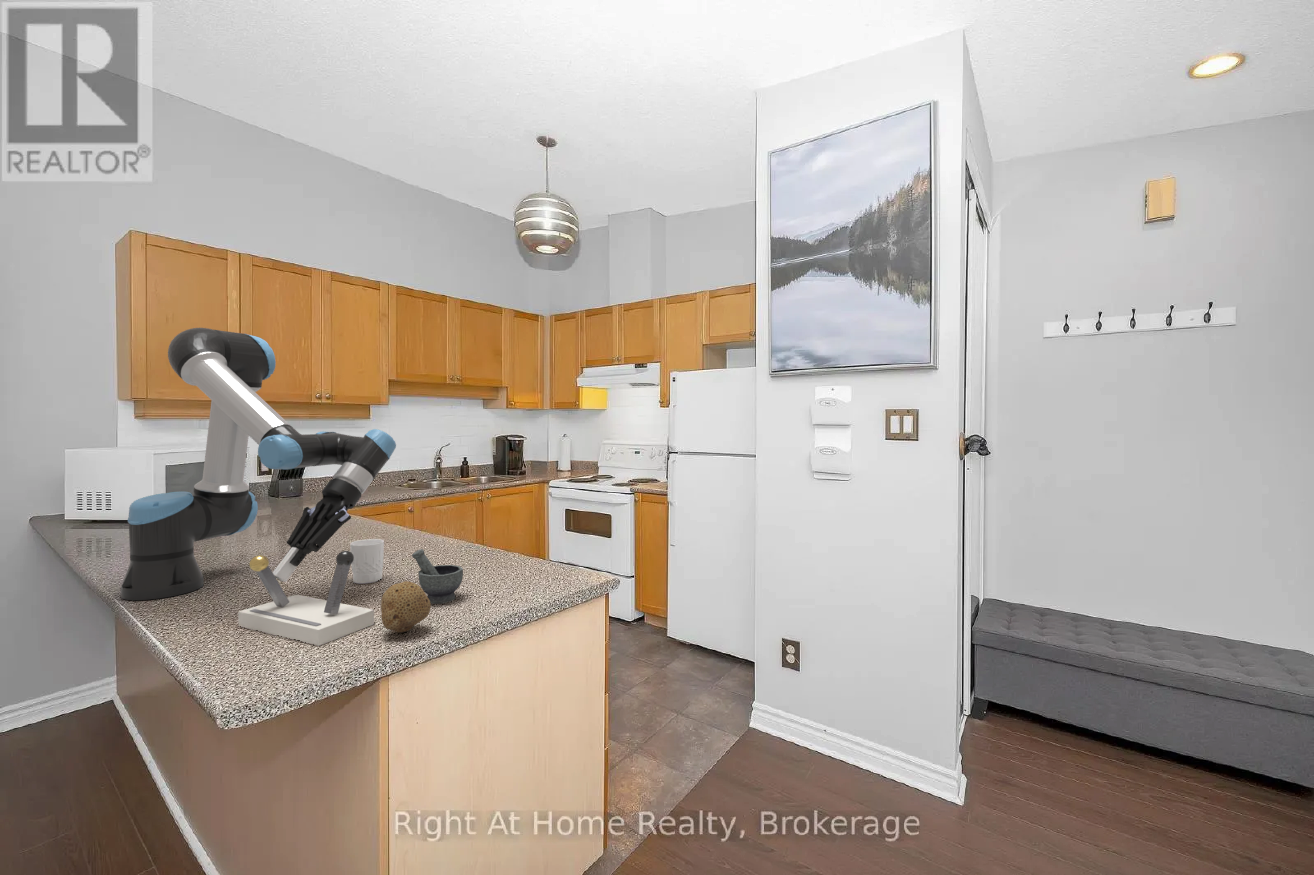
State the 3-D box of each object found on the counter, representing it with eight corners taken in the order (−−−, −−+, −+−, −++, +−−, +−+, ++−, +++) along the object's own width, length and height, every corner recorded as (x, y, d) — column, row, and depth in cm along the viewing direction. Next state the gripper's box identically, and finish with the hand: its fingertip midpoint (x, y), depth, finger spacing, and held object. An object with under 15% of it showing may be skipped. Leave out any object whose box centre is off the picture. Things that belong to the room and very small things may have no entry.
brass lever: (285, 597, 119) (257, 551, 114) (295, 599, 118) (267, 552, 112) (271, 608, 116) (242, 561, 111) (281, 610, 115) (252, 563, 110)
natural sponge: (435, 622, 116) (434, 575, 116) (424, 639, 108) (424, 588, 107) (388, 625, 115) (388, 576, 115) (373, 642, 106) (373, 590, 106)
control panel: (296, 607, 125) (296, 593, 125) (374, 624, 115) (373, 608, 115) (238, 626, 114) (238, 610, 114) (318, 646, 104) (318, 628, 104)
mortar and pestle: (465, 592, 137) (465, 543, 136) (460, 604, 128) (459, 552, 127) (416, 594, 135) (416, 545, 134) (407, 607, 125) (406, 554, 125)
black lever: (332, 612, 114) (348, 550, 117) (343, 614, 112) (359, 552, 116) (318, 611, 111) (334, 549, 114) (329, 614, 110) (345, 550, 113)
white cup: (390, 576, 150) (390, 539, 149) (372, 585, 142) (372, 546, 142) (362, 575, 151) (362, 538, 150) (343, 584, 143) (343, 545, 142)
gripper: (377, 497, 130) (312, 590, 116) (338, 495, 135) (271, 583, 121) (356, 477, 125) (285, 572, 110) (316, 475, 130) (243, 566, 116)
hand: (278, 578), depth 116 cm, fingers closed
